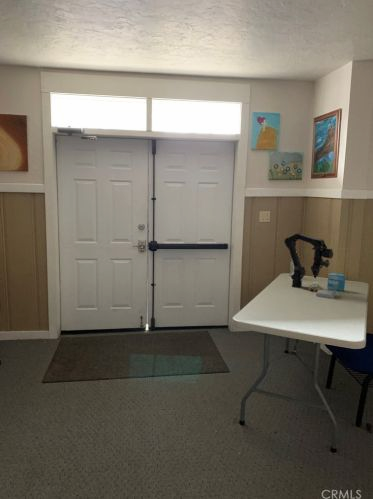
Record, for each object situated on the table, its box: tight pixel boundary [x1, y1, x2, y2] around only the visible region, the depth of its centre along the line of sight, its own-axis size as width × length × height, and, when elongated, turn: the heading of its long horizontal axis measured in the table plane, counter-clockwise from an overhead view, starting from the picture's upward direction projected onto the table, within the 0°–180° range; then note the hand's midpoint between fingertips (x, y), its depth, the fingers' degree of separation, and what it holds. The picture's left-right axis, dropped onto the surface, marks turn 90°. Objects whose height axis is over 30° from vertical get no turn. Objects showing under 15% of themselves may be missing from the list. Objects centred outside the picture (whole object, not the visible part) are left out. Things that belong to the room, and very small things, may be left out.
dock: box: [315, 289, 337, 300], centre depth 284 cm, size 12×10×4 cm
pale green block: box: [311, 281, 320, 287], centre depth 295 cm, size 4×4×3 cm
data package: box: [326, 272, 346, 292], centre depth 301 cm, size 12×4×12 cm, turn 64°
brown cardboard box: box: [307, 284, 323, 293], centre depth 296 cm, size 9×5×4 cm, turn 63°
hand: (316, 276), depth 294 cm, fingers open, 9 cm apart
